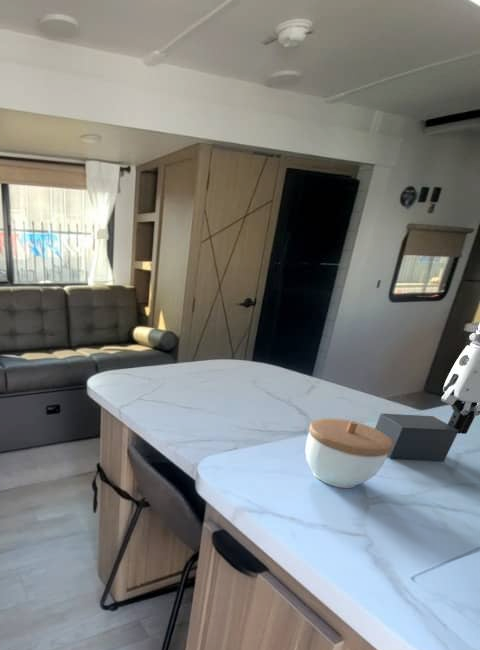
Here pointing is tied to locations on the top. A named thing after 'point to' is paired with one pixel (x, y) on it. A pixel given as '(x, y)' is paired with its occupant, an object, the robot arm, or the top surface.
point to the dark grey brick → (417, 436)
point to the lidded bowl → (345, 451)
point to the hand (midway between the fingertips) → (455, 430)
